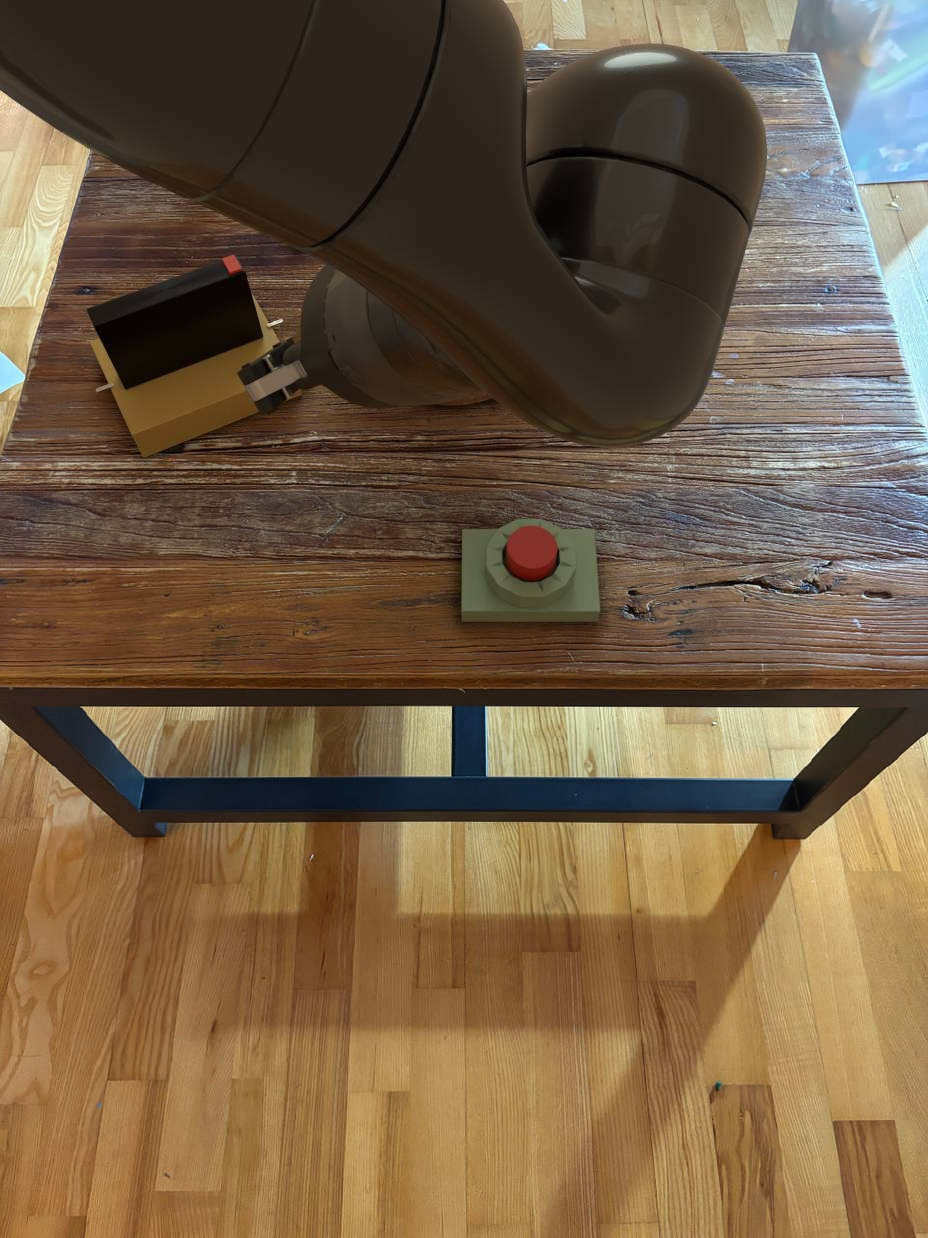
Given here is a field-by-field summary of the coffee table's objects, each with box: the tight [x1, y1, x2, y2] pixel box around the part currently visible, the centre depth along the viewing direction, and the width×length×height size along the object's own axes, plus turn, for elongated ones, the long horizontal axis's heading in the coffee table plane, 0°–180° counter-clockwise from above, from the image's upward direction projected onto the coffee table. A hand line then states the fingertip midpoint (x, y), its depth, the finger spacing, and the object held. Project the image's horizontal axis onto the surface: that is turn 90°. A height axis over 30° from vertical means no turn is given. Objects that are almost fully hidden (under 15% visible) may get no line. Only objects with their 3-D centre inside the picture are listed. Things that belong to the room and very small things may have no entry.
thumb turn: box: [85, 254, 263, 389], centre depth 72 cm, size 12×2×7 cm, turn 118°
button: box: [506, 526, 558, 581], centre depth 66 cm, size 4×4×2 cm
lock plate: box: [89, 293, 303, 459], centre depth 77 cm, size 16×11×3 cm
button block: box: [460, 518, 601, 623], centre depth 68 cm, size 10×7×4 cm
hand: (303, 351), depth 57 cm, fingers closed
